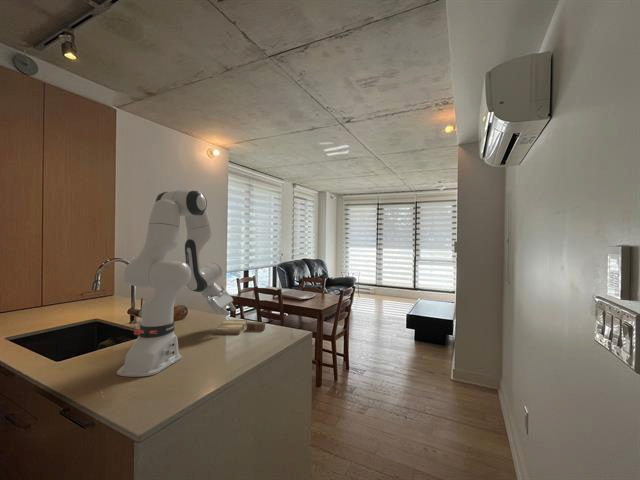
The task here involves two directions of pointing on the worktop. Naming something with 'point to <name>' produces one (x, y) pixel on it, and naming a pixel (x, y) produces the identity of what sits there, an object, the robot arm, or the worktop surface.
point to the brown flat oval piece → (180, 312)
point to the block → (255, 326)
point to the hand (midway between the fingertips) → (231, 312)
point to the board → (231, 327)
